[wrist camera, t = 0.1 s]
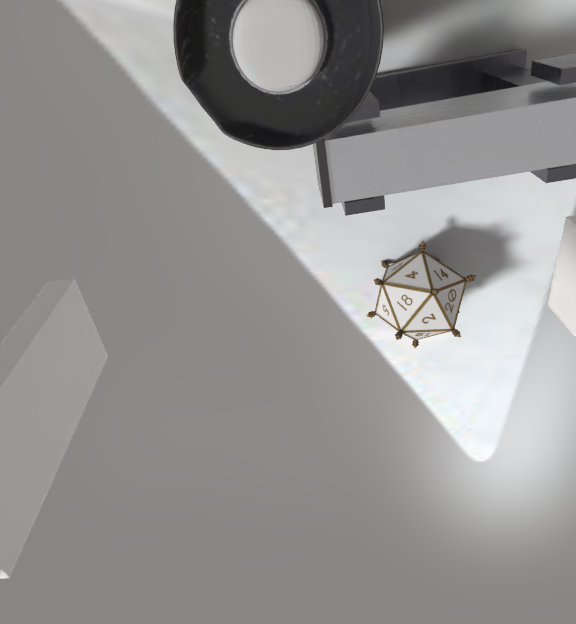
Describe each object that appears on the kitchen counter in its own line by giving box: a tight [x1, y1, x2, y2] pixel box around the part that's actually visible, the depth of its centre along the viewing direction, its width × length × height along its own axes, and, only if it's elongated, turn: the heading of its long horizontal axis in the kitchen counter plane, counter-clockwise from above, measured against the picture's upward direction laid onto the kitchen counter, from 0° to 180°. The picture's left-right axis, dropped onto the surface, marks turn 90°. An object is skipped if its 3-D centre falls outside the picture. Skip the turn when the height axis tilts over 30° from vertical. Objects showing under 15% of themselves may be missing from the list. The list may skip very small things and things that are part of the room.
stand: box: [342, 49, 576, 215], centre depth 32 cm, size 15×6×12 cm, turn 99°
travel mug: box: [174, 0, 384, 150], centre depth 25 cm, size 8×8×20 cm
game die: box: [367, 241, 476, 348], centre depth 42 cm, size 9×8×10 cm
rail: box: [313, 81, 576, 208], centre depth 28 cm, size 17×4×5 cm, turn 99°
